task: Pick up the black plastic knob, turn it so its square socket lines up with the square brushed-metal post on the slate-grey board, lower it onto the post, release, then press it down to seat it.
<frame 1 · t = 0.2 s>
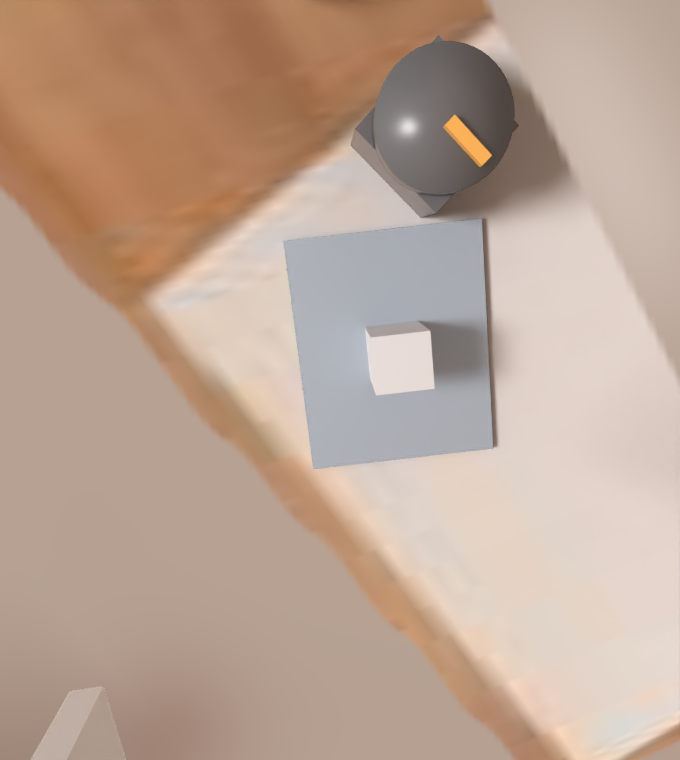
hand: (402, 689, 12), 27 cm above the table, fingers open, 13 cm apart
shaft board: (392, 348, 38), on the table
knob: (421, 143, 35), on the table
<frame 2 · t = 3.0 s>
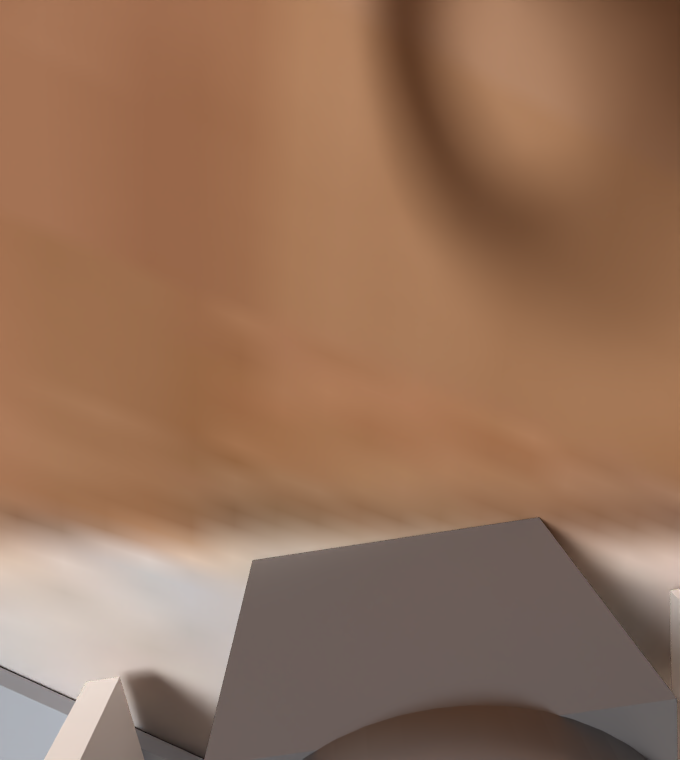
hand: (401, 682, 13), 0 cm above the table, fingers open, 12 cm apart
knob: (412, 660, 13), on the table
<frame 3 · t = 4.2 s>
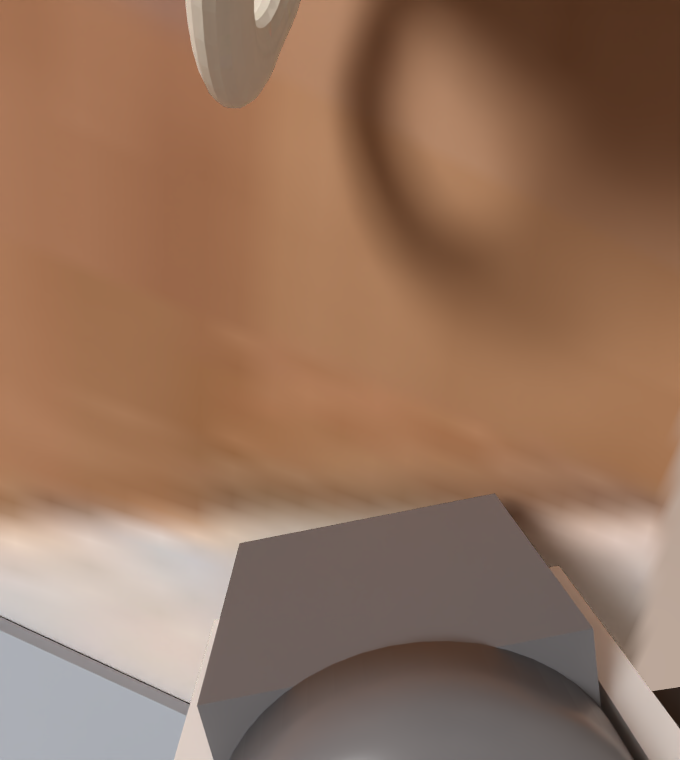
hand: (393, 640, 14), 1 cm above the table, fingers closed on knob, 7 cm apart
knob: (389, 628, 14), point 1 cm above the table, touching gripper
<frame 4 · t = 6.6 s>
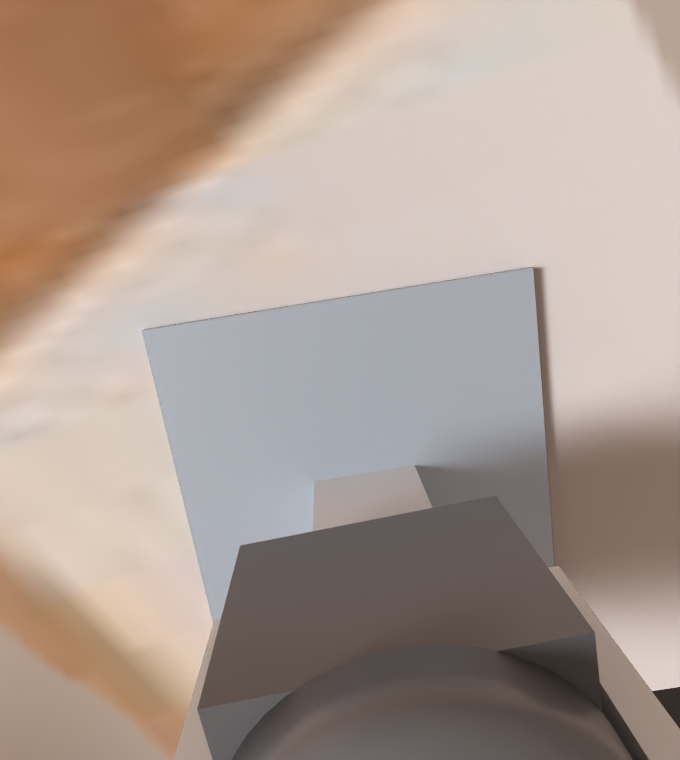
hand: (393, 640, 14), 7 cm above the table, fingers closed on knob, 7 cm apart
shaft board: (370, 513, 20), on the table
knob: (389, 631, 14), point 6 cm above the table, touching gripper
when the fingers open (1 cm above the table, at t = 8.9 s): knob stays where it is, resting on shaft board.
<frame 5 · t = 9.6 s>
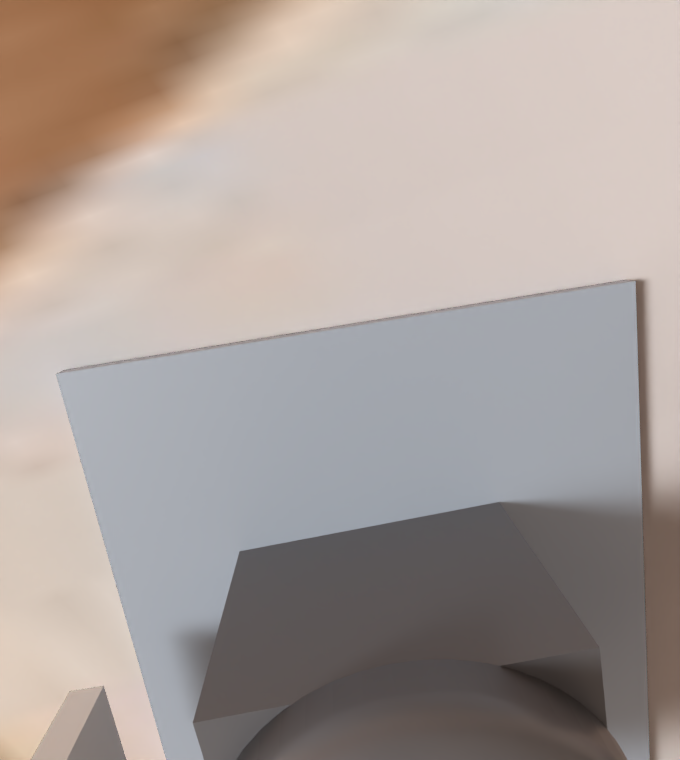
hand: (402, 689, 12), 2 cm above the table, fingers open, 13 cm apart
shaft board: (390, 624, 15), on the table
knob: (390, 638, 14), resting on shaft board
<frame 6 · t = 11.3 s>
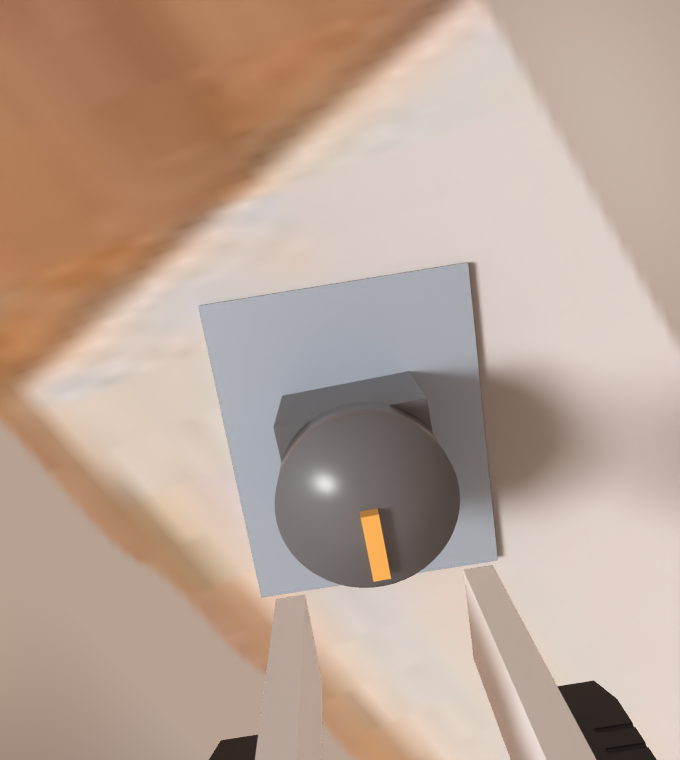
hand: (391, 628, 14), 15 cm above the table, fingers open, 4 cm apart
shaft board: (357, 438, 29), on the table
knob: (356, 443, 28), resting on shaft board
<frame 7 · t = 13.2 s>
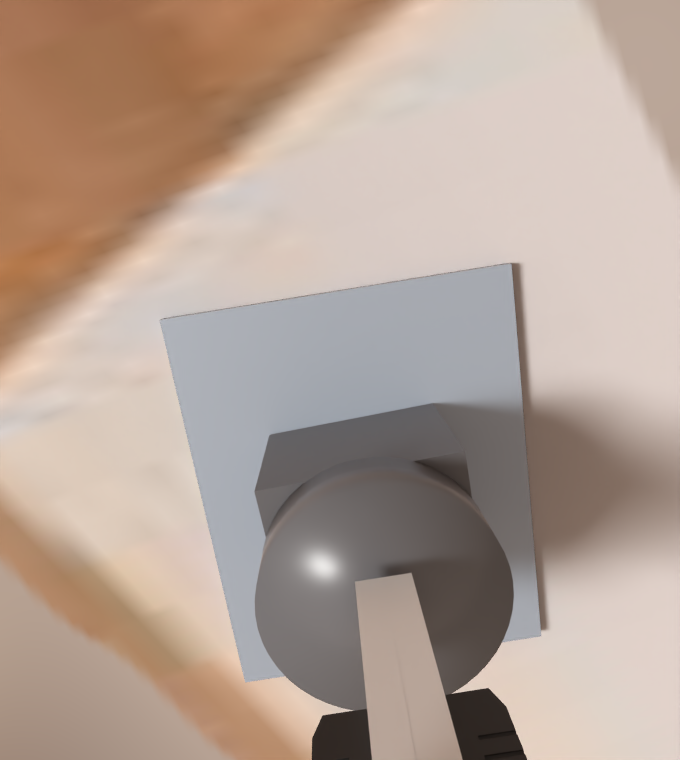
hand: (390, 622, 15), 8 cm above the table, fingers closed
shaft board: (365, 487, 23), on the table
knob: (365, 493, 22), resting on shaft board, touching gripper
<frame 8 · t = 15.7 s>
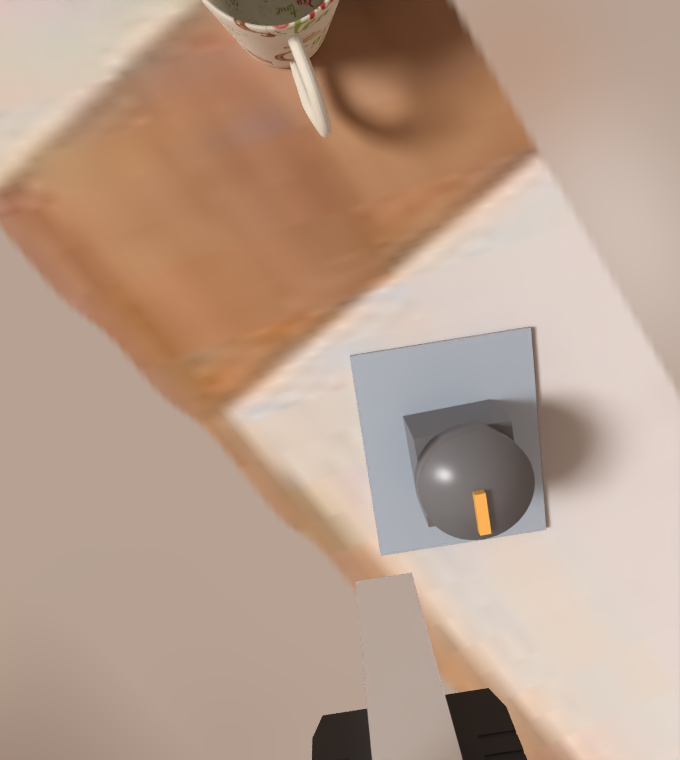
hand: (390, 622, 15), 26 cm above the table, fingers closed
shaft board: (451, 445, 42), on the table
knob: (451, 448, 41), resting on shaft board
mug: (294, 51, 35), on the table
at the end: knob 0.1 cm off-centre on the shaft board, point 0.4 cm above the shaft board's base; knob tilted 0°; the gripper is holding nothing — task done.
